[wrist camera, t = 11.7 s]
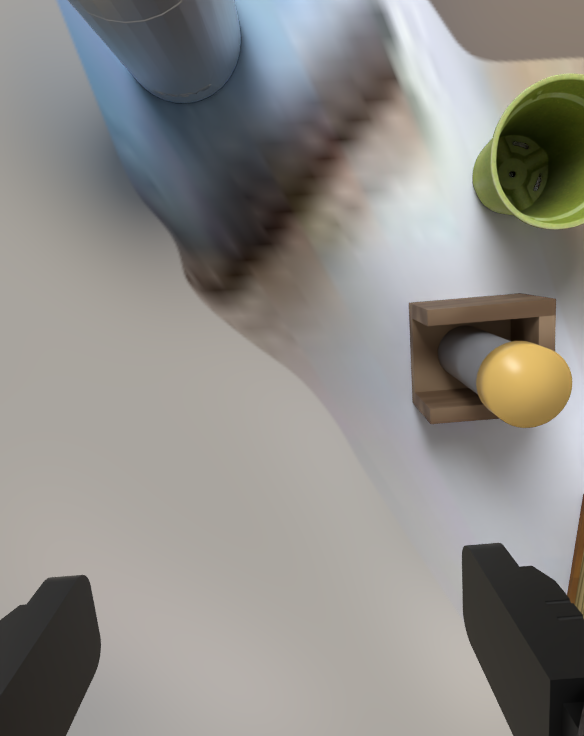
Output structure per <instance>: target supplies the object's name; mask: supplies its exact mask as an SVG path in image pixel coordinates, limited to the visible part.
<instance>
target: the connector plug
mask: <svg viewBox="0 0 584 736" xmlns="http://www.w3.org/2000/svg"><path fill="white" fill-rule="evenodd" d="M438 358H439V362H440V364H441V366H442V367H443V368H444V370H445V371H447V372H448V373H449V374H451V375H452V376H453V377H455V378H456V379H458V380H459V381H460V382H462V383H463V384H464V385H466V386H467V387H468V388H470V389H471V390H473V391H474V392H475V393H477V394H478V396H479V398H480V400H481V402H482V403H483V404H484V406H485V407H486V408H487V409H488V410H490V411H491V412H492V413H493V414H495V415H496V416H497V417H499V418H500V419H501V420H503V421H504V422H506V423H508V424H510V425H512V426H516V427H521V428H530V427H536V426H540V425H542V424H545V423H547V422H549V421H550V420H552V419H553V418H555V417H556V416H557V415H558V414H559V413H560V412H561V411H562V410H563V408H564V407H565V405H566V404H567V402H568V400H569V397H570V394H571V390H572V376H571V372H570V369H569V367H568V365H567V363H566V362H565V360H564V359H563V358H562V357H561V356H560V355H559V354H557V353H556V352H554V351H553V350H550V349H548V348H545V347H542V346H540V345H537V344H534V343H531V342H527V341H512V342H511V341H509V340H506V339H504V338H501V337H499V336H496V335H493V334H491V333H488V332H486V331H483V330H481V329H478V328H475V327H472V326H459V327H456V328H454V329H452V330H450V331H449V332H448V333H447V334H446V335H445V336H444V337H443V338H442V340H441V342H440V344H439V348H438Z"/></svg>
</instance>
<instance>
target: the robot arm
mask: <svg viewBox="0 0 584 736" xmlns="http://www.w3.org/2000/svg"><path fill="white" fill-rule="evenodd" d="M68 1H69V2H70V4H71V5H72V6H73V7H74V8H75V9H76V10H77V12H78V13H79V14H80V15H81V16H82V17H83V19H84V20H85V21H86V22H87V23H88V24H89V26H90V27H91V28H92V29H93V30H94V31H95V32H96V34H97V35H98V36H99V37H100V38H101V39H102V41H103V42H104V43H105V44H106V45H107V46H108V47H109V49H110V50H111V51H112V52H113V53H114V54H115V56H116V57H117V58H118V59H119V60H120V61H121V63H122V64H123V65H124V66H125V67H126V68H127V69H128V70H129V72H130V73H131V74H132V75H133V76H134V77H135V78H136V80H137V81H138V82H139V83H140V84H141V85H142V86H143V87H144V88H145V89H147V90H148V91H149V92H150V93H152V94H153V95H155V96H157V97H159V98H161V99H163V100H167V101H171V102H175V103H191V102H196V101H200V100H203V99H205V98H207V97H209V96H211V95H213V94H214V93H215V92H217V91H218V90H219V89H220V88H222V86H223V85H224V84H225V83H226V82H227V80H228V79H229V78H230V76H231V74H232V73H233V71H234V69H235V67H236V64H237V61H238V57H239V54H240V45H241V33H240V24H239V19H238V14H237V10H236V5H235V0H68ZM462 585H463V616H464V622H465V627H466V631H467V635H468V638H469V641H470V644H471V646H472V648H473V650H474V652H475V654H476V657H477V659H478V661H479V663H480V665H481V667H482V669H483V671H484V674H485V676H486V678H487V680H488V682H489V684H490V686H491V689H492V691H493V693H494V695H495V697H496V699H497V702H498V704H499V706H500V708H501V710H502V712H503V714H504V716H505V719H506V720H507V723H508V725H509V727H510V729H511V731H512V734H513V736H584V618H583V614H582V613H581V612H580V611H579V610H578V608H577V607H576V606H575V605H574V603H571V602H570V599H569V597H568V596H567V595H566V594H565V592H564V591H563V590H562V589H561V588H560V586H559V585H558V584H557V583H556V581H555V580H553V579H552V578H550V577H548V576H547V575H545V574H544V573H542V572H541V571H539V570H538V569H536V568H535V567H533V566H523V567H519V566H518V564H517V563H516V562H515V560H514V559H513V558H512V556H511V555H510V554H509V552H508V551H507V550H506V548H505V547H504V546H503V545H502V544H501V543H492V544H479V545H467V546H464V547H463V551H462ZM100 650H101V639H100V633H99V627H98V622H97V617H96V612H95V606H94V601H93V596H92V591H91V585H90V582H89V579H88V578H87V577H86V576H85V575H77V576H65V577H52V578H48V579H47V580H45V581H44V582H43V584H42V585H41V586H40V587H39V589H38V590H37V591H36V593H35V594H34V595H33V597H32V598H31V599H30V601H29V602H28V603H27V605H20V606H18V607H17V608H16V609H14V610H13V611H12V612H10V613H9V614H8V615H6V616H5V617H4V618H2V619H1V620H0V736H66V734H67V732H68V730H69V728H70V726H71V724H72V721H73V719H74V717H75V715H76V713H77V711H78V708H79V707H80V704H81V702H82V700H83V698H84V696H85V693H86V692H87V689H88V687H89V685H90V683H91V681H92V679H93V677H94V674H95V672H96V670H97V667H98V663H99V658H100Z"/></svg>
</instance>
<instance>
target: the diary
mask: <svg viewBox="0 0 584 736" xmlns="http://www.w3.org/2000/svg"><path fill="white" fill-rule="evenodd" d="M567 596H568V597H569V599H570V602H571V603H574V605H575V606H576V607H577V608H578V610H579V611H580V612H581V613H582V614H583V618H584V494H583V500H582V506H581V512H580V518H579V525H578V531H577V537H576V543H575V549H574V556H573V562H572V568H571V574H570V580H569V586H568V593H567Z"/></svg>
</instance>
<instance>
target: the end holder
mask: <svg viewBox="0 0 584 736" xmlns="http://www.w3.org/2000/svg"><path fill="white" fill-rule="evenodd" d="M409 320H410V347H411V373H412V400H413V404H414V405H415V406H416V407H417V408H418V410H419V411H420V412H421V413H422V414H423V415H424V417H425V418H426V419H427V420H428V421H429V423H430V424H438V423H450V422H462V421H474V420H486V419H499V417H497V416H496V415H495V414H493V413H492V412H491V411H490V410H488V409H487V408H486V407H485V406H484V404H483V403H482V402H481V400H480V398H479V396H478V394H477V393H475V392H474V391H473V390H471V389H470V388H468V387H467V386H466V385H464V384H463V383H462V382H460V381H459V380H458V379H456V378H455V377H453V376H452V375H451V374H449V373H448V372H447V371H445V370H444V368H443V367H442V366H441V364H440V362H439V358H438V348H439V344H440V342H441V340H442V338H443V337H444V336H445V335H446V334H447V333H448V332H449V331H450V330H452V329H454V328H456V327H459V326H472V327H475V328H478V329H481V330H483V331H486V332H488V333H491V334H493V335H496V336H499V337H501V338H504V339H506V340H509V341H511V342H512V341H527V342H531V343H534V344H537V345H540V346H542V347H545V348H548V349H550V350H553V351H554V352H555V320H556V299H553V298H547V297H540V296H534V295H527V294H521V293H518V294H507V295H495V296H483V297H472V298H460V299H448V300H437V301H425V302H413V303H409Z"/></svg>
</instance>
